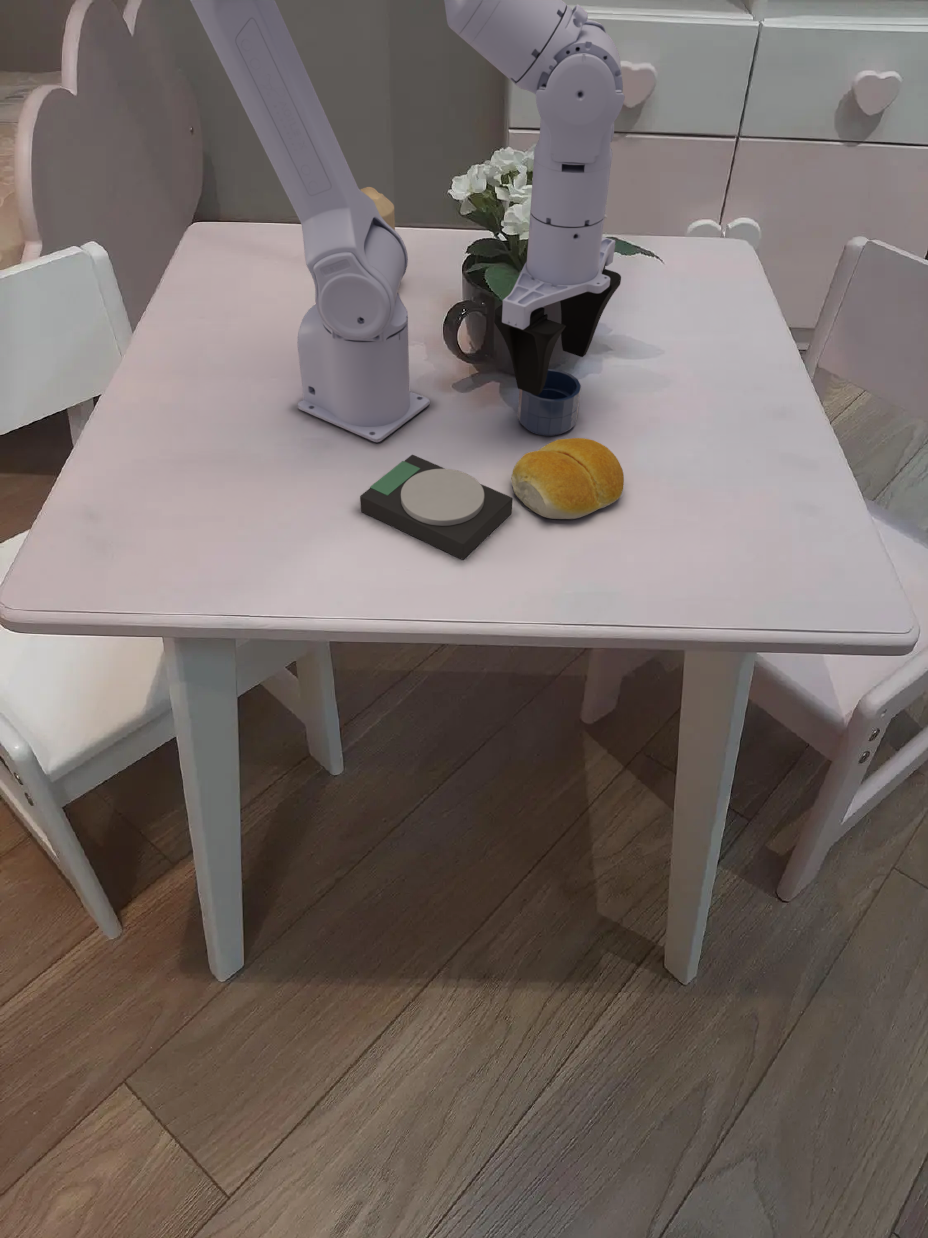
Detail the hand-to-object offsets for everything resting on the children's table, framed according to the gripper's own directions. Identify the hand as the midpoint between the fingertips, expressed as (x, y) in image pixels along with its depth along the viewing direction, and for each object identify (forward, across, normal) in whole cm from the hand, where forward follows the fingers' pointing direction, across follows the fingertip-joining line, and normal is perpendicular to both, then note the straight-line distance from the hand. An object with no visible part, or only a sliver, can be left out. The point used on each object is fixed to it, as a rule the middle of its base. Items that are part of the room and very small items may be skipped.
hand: (552, 370), depth 81 cm
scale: (+5, -16, +1) cm, 17 cm away
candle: (+5, +11, +29) cm, 31 cm away
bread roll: (+5, -8, -7) cm, 12 cm away
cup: (+5, 0, 0) cm, 5 cm away
